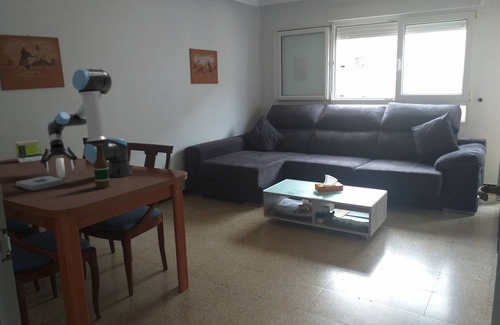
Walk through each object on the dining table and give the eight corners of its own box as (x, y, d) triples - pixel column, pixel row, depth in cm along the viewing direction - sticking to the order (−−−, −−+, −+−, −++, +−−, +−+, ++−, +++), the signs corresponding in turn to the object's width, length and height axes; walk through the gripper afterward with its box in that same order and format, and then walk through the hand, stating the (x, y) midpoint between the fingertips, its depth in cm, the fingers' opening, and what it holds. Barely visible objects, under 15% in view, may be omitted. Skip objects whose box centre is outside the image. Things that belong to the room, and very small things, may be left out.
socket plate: (64, 183, 221) (64, 179, 221) (32, 190, 207) (31, 186, 206) (48, 179, 231) (47, 175, 231) (16, 186, 217) (15, 181, 216)
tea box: (39, 158, 300) (37, 139, 298) (42, 160, 293) (40, 141, 290) (17, 161, 291) (15, 141, 288) (19, 163, 284) (17, 143, 281)
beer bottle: (105, 184, 219) (102, 142, 214) (113, 186, 214) (109, 143, 209) (92, 187, 213) (88, 144, 208) (100, 189, 208) (96, 145, 203)
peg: (66, 177, 236) (64, 158, 234) (59, 179, 233) (57, 159, 230) (62, 176, 239) (61, 157, 236) (56, 178, 235) (53, 158, 233)
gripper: (77, 144, 251) (82, 171, 242) (34, 148, 239) (37, 176, 230) (78, 137, 246) (83, 164, 236) (33, 140, 234) (37, 169, 224)
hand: (60, 170), depth 233 cm, fingers open, 13 cm apart
